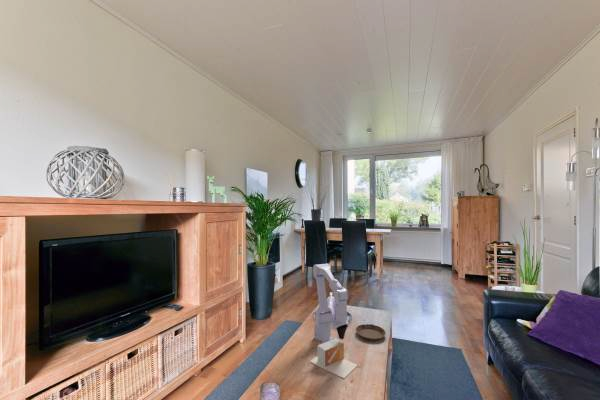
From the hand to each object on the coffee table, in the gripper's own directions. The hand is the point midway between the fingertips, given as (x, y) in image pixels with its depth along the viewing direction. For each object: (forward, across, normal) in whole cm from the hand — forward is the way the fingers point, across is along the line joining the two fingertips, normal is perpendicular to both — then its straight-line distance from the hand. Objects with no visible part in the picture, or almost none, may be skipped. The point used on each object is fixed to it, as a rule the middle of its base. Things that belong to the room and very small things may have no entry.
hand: (341, 338), depth 140 cm
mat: (+10, -8, 0) cm, 12 cm away
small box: (+5, 0, +1) cm, 6 cm away
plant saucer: (+10, +32, -1) cm, 34 cm away
